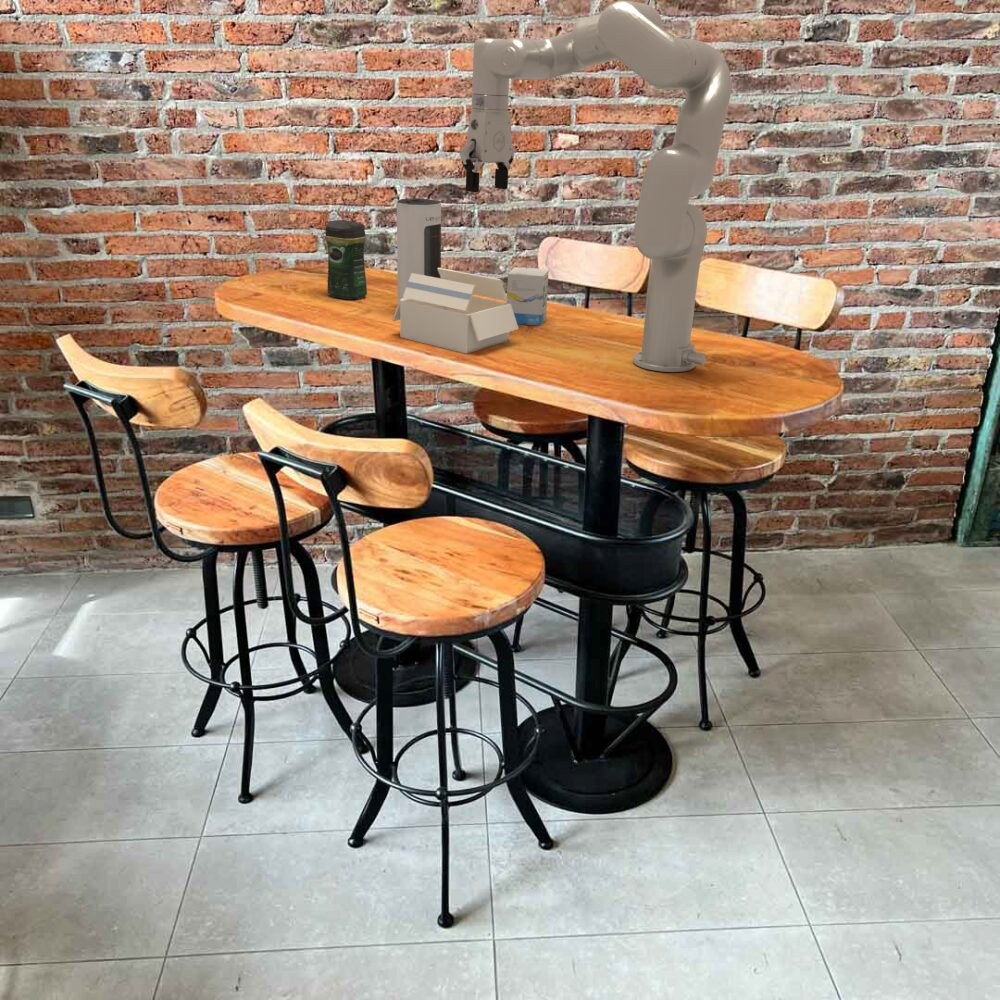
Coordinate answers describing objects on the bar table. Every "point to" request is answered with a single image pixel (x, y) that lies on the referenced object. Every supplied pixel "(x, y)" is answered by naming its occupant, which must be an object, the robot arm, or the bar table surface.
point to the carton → (456, 324)
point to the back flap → (477, 283)
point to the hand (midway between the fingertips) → (486, 190)
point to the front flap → (439, 291)
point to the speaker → (418, 239)
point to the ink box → (528, 294)
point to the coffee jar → (346, 259)
